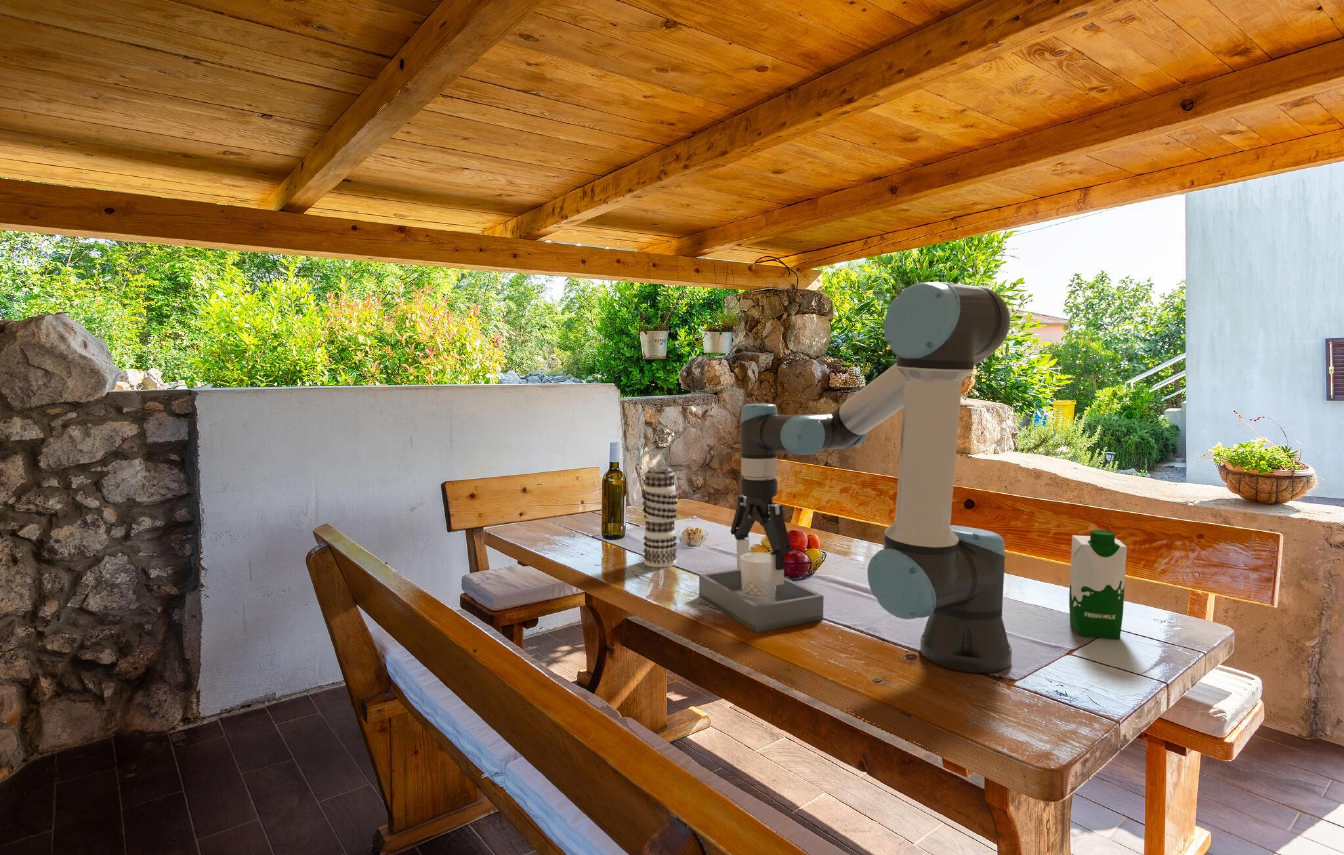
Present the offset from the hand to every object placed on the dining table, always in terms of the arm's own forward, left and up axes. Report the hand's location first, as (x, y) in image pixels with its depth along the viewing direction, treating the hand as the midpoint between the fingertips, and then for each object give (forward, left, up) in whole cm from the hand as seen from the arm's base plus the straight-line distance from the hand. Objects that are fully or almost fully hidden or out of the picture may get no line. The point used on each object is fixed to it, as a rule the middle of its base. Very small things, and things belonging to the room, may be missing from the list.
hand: (759, 576), depth 157 cm
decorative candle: (+41, +5, -7) cm, 42 cm away
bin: (0, 0, -7) cm, 7 cm away
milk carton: (-40, -51, -7) cm, 65 cm away
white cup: (0, 0, -6) cm, 6 cm away
